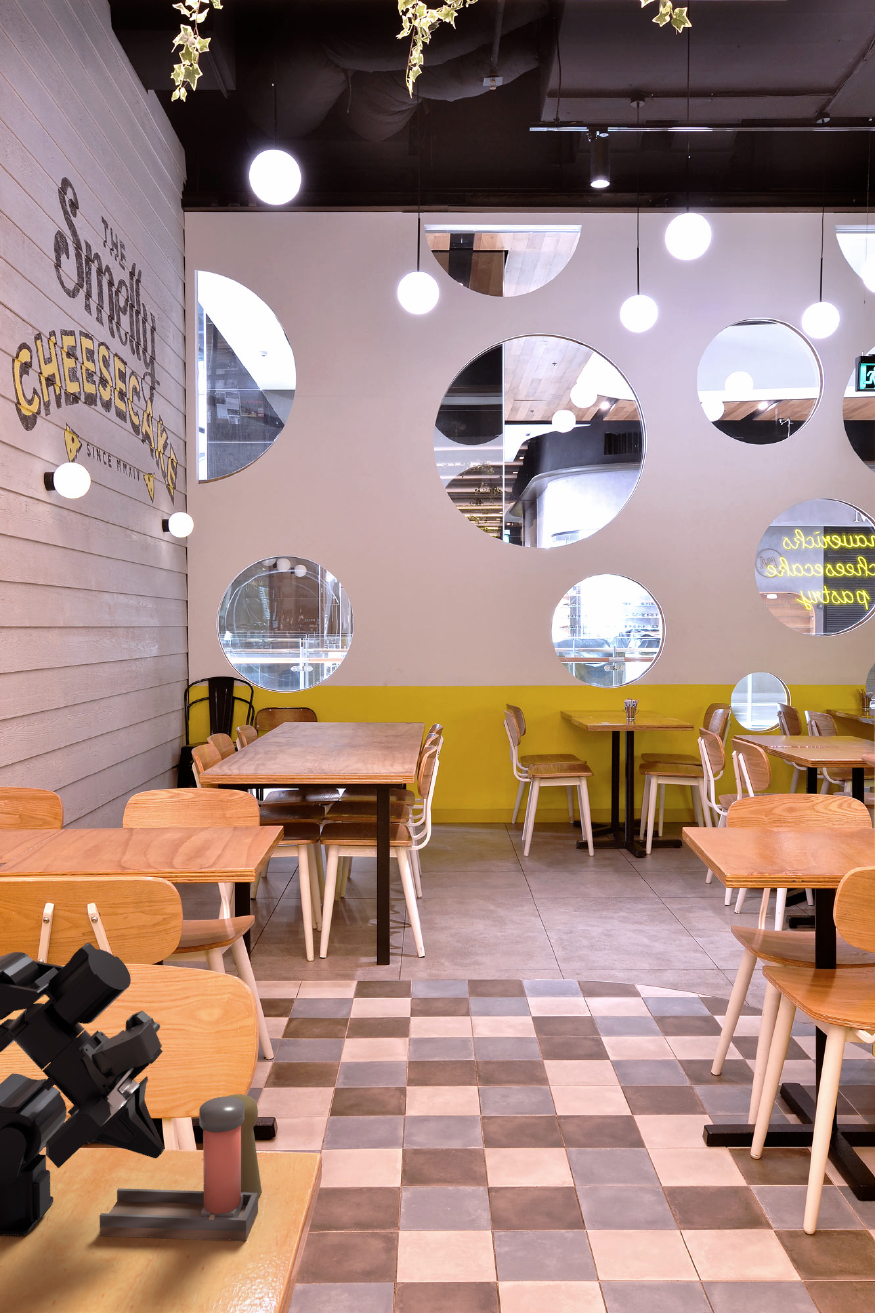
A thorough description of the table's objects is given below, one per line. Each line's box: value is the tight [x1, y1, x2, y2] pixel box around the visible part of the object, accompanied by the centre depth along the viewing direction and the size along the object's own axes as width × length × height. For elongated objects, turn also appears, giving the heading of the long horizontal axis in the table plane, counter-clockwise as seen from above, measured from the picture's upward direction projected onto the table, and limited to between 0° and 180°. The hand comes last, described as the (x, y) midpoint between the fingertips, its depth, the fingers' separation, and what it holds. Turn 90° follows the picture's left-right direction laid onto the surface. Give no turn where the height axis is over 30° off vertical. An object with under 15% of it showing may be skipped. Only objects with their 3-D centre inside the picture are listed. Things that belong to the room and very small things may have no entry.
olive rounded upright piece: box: [225, 1093, 263, 1200], centre depth 107 cm, size 6×6×11 cm
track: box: [99, 1187, 259, 1242], centre depth 101 cm, size 16×5×2 cm, turn 87°
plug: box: [198, 1096, 244, 1218], centre depth 101 cm, size 5×5×12 cm
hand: (160, 1154), depth 101 cm, fingers closed
